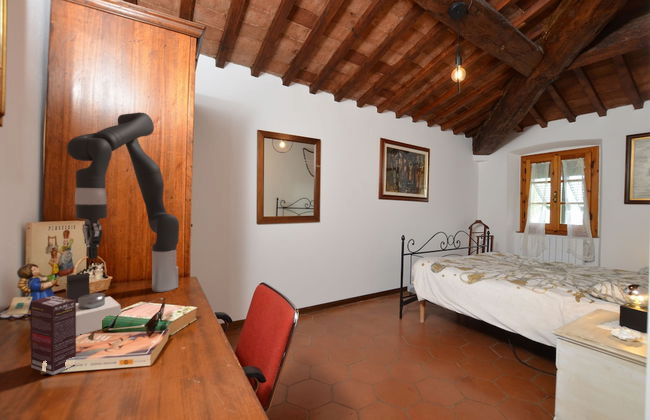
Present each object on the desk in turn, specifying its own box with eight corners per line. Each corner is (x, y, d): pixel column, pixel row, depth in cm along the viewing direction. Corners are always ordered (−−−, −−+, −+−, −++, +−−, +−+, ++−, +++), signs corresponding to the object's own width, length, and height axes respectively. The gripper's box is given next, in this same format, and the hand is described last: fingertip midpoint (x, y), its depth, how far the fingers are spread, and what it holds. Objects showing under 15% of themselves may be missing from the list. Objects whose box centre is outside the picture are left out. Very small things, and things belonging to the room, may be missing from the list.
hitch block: (110, 313, 97) (110, 296, 97) (120, 323, 89) (120, 305, 89) (63, 324, 88) (62, 305, 87) (70, 337, 80) (70, 316, 80)
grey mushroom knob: (102, 316, 93) (101, 291, 92) (107, 322, 89) (107, 296, 88) (76, 323, 88) (76, 296, 88) (80, 329, 84) (80, 301, 83)
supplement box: (77, 364, 67) (77, 299, 67) (52, 376, 63) (52, 306, 62) (55, 357, 70) (54, 294, 70) (29, 367, 66) (28, 301, 65)
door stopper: (90, 308, 101) (90, 275, 100) (67, 313, 96) (67, 278, 96) (87, 301, 107) (87, 270, 107) (66, 305, 103) (66, 273, 102)
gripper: (112, 203, 86) (113, 259, 86) (100, 202, 94) (101, 253, 95) (80, 203, 80) (81, 264, 81) (70, 202, 88) (72, 257, 89)
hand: (92, 258), depth 88 cm, fingers closed
